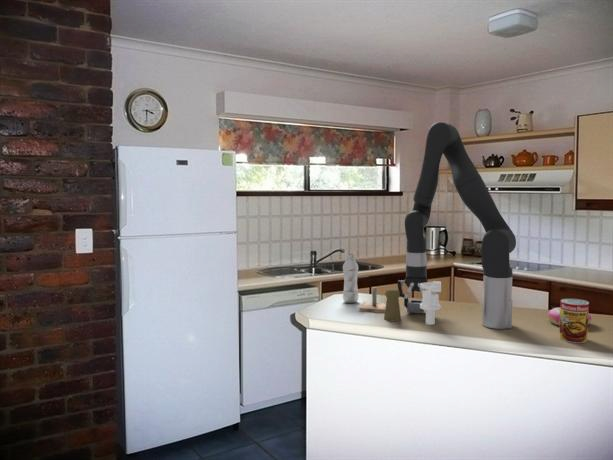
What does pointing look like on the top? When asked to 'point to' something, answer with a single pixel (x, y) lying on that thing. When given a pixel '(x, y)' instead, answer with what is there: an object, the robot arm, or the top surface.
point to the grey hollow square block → (414, 306)
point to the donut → (555, 316)
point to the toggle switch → (373, 304)
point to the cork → (392, 305)
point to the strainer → (430, 300)
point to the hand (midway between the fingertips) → (415, 308)
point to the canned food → (574, 320)
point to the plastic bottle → (350, 279)
